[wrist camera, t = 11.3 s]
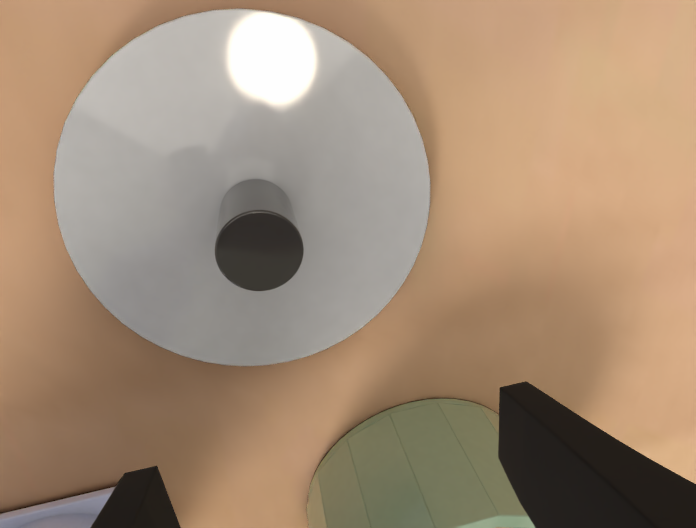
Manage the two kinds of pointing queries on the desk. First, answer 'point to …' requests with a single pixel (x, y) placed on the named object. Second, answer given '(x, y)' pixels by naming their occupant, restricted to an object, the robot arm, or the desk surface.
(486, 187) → the desk surface
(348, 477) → the pot
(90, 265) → the lid
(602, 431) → the robot arm
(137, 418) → the desk surface
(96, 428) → the desk surface
